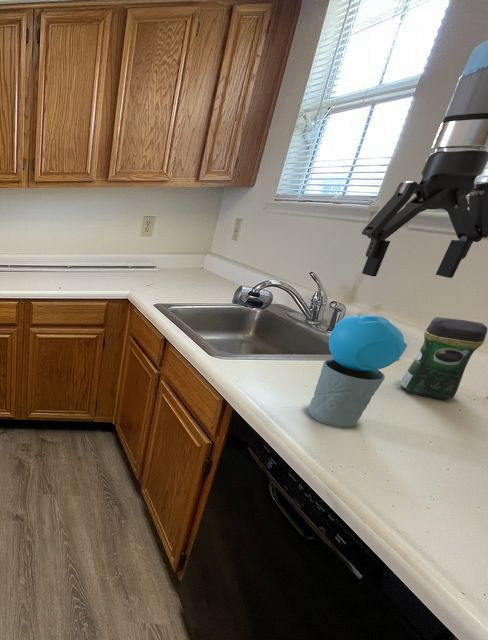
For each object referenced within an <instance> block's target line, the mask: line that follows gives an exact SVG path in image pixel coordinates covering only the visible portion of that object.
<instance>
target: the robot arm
mask: <svg viewBox="0 0 488 640" xmlns="http://www.w3.org/2000/svg"><path fill="white" fill-rule="evenodd" d="M431 148H432V150H435V151H434V152H431V153H430V154H429V155H428V156H427V158H426V160H425V163H424V165H423V168H422V170H421V176H422V177H421V180H420V181H419V182H417V181H401V182H400V183H399V185H398V186H397V188H396V190H395V192H394V193H393V195H392V197H391V198H390V199H389V200H388V201H387V202H386V203H385V205H384V206H383V207H381V209H380V210H379V211H378V212H377V214H376V215H375V216H374V217H373V218H371V220H370V221H369V223H367V225H366V226H364V228H363V229H362V231H361V235H363V236H366V237H367V238H368V239H370V241H369V244H368V247H367V249H366V252H365V257H367V258H366V261H365V264H364V267H363V269H362V272H361V275H366V276H369V277H377V276H378V273H379V270H380V268H381V266H382V263H383V261H384V258H385V255H386V253H387V251H388V248H389V246H390V243H391V240H387V239H388V238H389V237H390V236H392V235H393V234H394V233H395V232H397V231H398V230H400V229H401V228H403V226H405V225H406V224H407V223H409V222H410V221H411V220H412V219H413V218H415V217H416V216H418V215H419V214H420V213H423V212H425V211H427V210H444V211H445V212H447V214H448V218H449V220H450V223H451V225H452V227H453V230H454V232H455V235H456V237H457V239H451V240H450V242H449V244H448V247H447V249H446V251H445V252H444V253H445V254H444V256H443V257H442V260H441V262H440V264H439V266H438V269H437V271H436V273H435V276H439V277H443V278H447V279H450V278H451V279H453V278H454V276H455V273H456V272H457V270H458V268H459V265H460V264H461V261H462V260H465V258H466V257H467V255H468V253H469V251H470V249H471V247H472V244H473V243H479V242H481V241H482V239H483V238H484V239H486V238H487V239H488V181H476V178H477V177H479V176H481V175H482V174H483V172H484V171H485V169H486V166H487V164H488V39H487V40H486V41H483V42H481V43H479V44H478V46H476V47H475V48H473V50H472V52H471V53H470V56H469V58H468V59H467V62H466V64H465V66H464V68H463V71H462V73H461V74H460V76H459V78H458V81H457V84H456V85H455V89H454V91H453V94H452V97H451V99H450V102H449V104H448V107H447V109H446V112H445V114H444V118H443V119H442V123H441V124H440V127H439V129H438V132H437V133H436V137H435V139H434V141H433V144H432V146H431ZM475 181H476V182H475ZM413 195H415V196H414V197H413V198H412V196H413ZM468 195H469V196H468ZM467 196H468V199H467ZM411 198H412V199H411Z"/></svg>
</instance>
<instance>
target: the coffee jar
mask: <svg viewBox="0 0 488 640" xmlns="http://www.w3.org/2000/svg"><path fill="white" fill-rule="evenodd" d="M487 334H488V326H486V324H484V323H482V322H477V321H471V320H465V319H456V318H449V317H439V316H435V317H434V318H433V319H432V320H431V322H430V323H429V325H428V326H427V327H426V329H425V330H424V333H423V339H424V340H423V343H422V345H421V347H420V349H419V351H418V353H417V354H416V356H415V357H414V359H413V361H412V362H411V364H410V365H409V367H408V369H407V370H406V372H405V373H404V374H403V377H402V378H401V380H400V387H401V388H402V389H403V390H406V391H407V392H409V393H413V394H416V395H420V396H425V397H429V398H436V399H441V400H450V399H453V398H454V397H455V396H456V394H457V393H458V389H459V387H460V384H461V382H462V381H461V380H462V378H463V376H464V373H465V370H466V367H467V366H468V363H469V361H470V359H471V357H472V356H473V354H474V352H475V351H476V350H478V349H479V348H480V347H481V346H482V345H483V344H484V342H485V340H486V336H487Z"/></svg>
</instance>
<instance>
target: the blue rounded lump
mask: <svg viewBox="0 0 488 640" xmlns="http://www.w3.org/2000/svg"><path fill="white" fill-rule="evenodd" d="M404 337H405V336H404V334H403V333H402V331H401V330H400V329H399V328H398V327H397V326H395V325H394V324H393V323H392V322H391V321H390V320H389V319H387V318H386V317H384V316H381V315H377V314H369V313H368V314H365V315H362V316H359V315H355V314H353V315H348V316H346V317H343V318H342V319H340V320H339V321H337V323H336V324H335V325H334V328H333V329H332V330H331V332H330V334H329V337H328V348H329V352H330V354H331V359H334V360H335V361H336V362H337V363H339V364H340V365H342V366H344V367H346V368H349V369H352V370H357V371H373V370H379V371H380V370H383V369H386V368H387V367H389V366H391V365H393V364H394V363H396V362H397V361H398V360H399V359H400V358H401V357H402V356H403V354H404V353H405V351H406V349H407V347H408V344H407V342H405V338H404Z"/></svg>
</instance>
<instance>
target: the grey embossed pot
mask: <svg viewBox="0 0 488 640" xmlns="http://www.w3.org/2000/svg"><path fill="white" fill-rule="evenodd" d="M385 378H386V375H385V373H383V372H382V371H381V370H380V369H379V370H373V371H357V370H352V369H349V368H346V367H344V366H342V365H340V364H339V363H337V362H336V361H335V360H334V359H333V358H331V359H326V360H324V361H323V364H322V367H321V370H320V374H319V377H318V380H317V383H316V386H315V389H314V393H313V396H312V398H311V400H310V402H309V405H308V406H309V407H308V410H307V412H308V415H309V416H311V417H312V418H313V419H314V420H317V421H318V422H321V423H323V424H326V425H329V426H333V427H336V428H337V427H338V428H353V427H355V426H356V425H357V423H358V422H359V420H360V418H361V417H362V415H363V414H364V412H365V410H366V409H367V407H368V405H369V404H370V402H371V400H372V397H373V396H374V395H375V393H376V392H377V391H378V389H379V388H380V386H381V385H382V384H383V382H384V381H385Z"/></svg>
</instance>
